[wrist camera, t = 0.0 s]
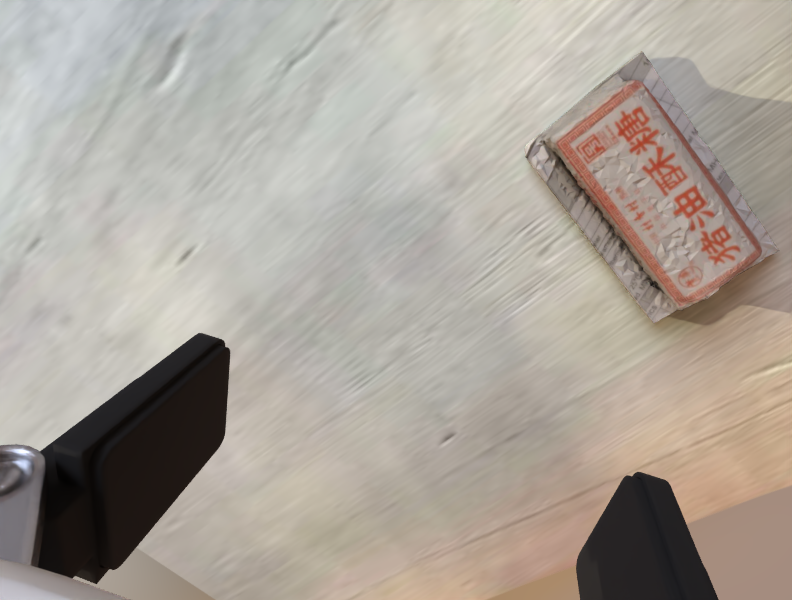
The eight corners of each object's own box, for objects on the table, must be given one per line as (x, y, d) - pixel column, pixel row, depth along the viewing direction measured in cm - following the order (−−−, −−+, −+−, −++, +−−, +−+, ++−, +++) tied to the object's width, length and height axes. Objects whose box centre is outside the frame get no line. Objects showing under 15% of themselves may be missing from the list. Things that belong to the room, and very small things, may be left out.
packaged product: (519, 155, 32) (657, 43, 28) (518, 148, 37) (637, 51, 33) (665, 344, 35) (809, 267, 31) (648, 317, 40) (773, 246, 35)
